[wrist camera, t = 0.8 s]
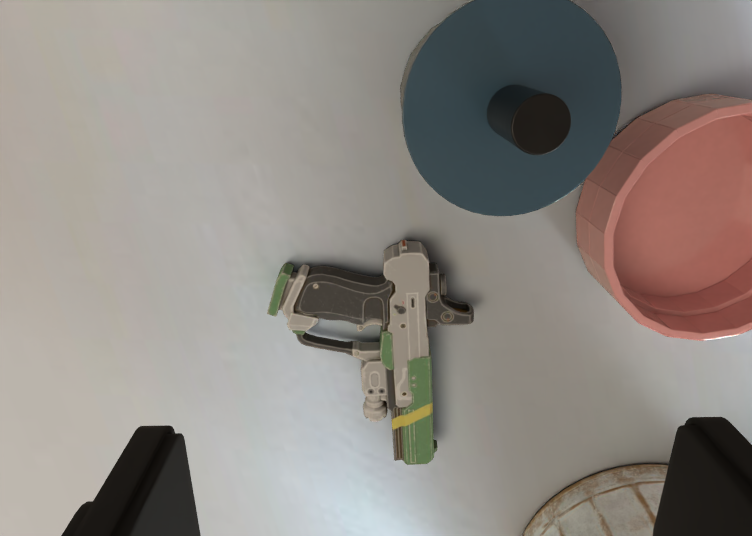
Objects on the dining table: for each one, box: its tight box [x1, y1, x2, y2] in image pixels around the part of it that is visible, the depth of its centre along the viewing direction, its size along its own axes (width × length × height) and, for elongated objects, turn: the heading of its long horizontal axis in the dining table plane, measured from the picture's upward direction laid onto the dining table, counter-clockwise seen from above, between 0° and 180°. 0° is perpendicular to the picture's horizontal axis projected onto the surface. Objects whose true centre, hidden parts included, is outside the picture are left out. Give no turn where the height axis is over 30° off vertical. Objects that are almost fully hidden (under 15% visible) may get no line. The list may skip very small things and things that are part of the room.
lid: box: [402, 0, 621, 216], centre depth 26 cm, size 11×11×6 cm
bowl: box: [576, 94, 752, 341], centre depth 37 cm, size 16×16×6 cm
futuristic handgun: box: [267, 240, 474, 465], centre depth 43 cm, size 3×19×15 cm
